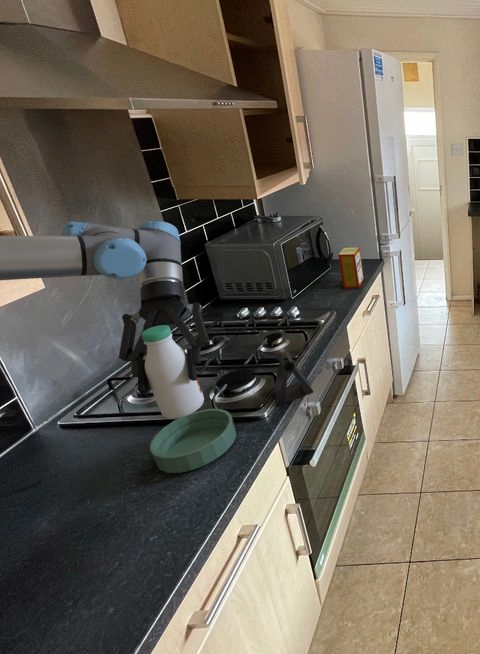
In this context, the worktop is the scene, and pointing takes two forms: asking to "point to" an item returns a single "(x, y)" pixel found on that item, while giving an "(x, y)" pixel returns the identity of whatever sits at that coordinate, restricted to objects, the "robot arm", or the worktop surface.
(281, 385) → the phone stand
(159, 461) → the green jar lid
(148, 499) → the worktop surface
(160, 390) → the milk bottle
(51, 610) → the worktop surface
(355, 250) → the baking soda box
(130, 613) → the worktop surface
